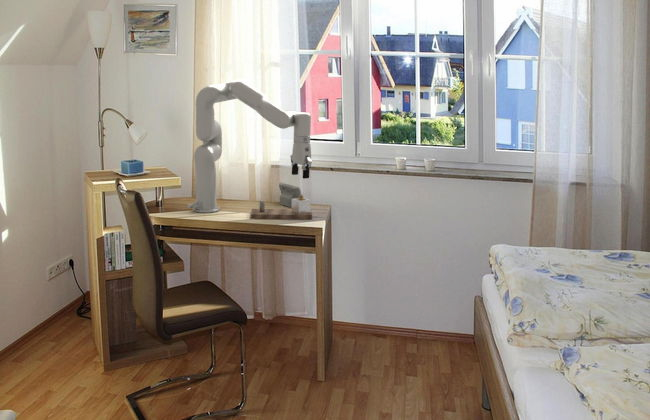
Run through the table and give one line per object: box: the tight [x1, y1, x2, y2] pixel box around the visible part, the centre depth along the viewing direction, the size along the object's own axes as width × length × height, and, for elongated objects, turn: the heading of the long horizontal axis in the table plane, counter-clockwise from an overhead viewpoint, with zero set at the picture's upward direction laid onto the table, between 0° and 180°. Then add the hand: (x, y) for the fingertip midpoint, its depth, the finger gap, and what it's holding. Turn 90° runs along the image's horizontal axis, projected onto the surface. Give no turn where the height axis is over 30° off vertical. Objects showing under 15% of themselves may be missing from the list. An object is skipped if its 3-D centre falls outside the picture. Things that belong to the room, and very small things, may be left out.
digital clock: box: [278, 181, 303, 208], centre depth 373 cm, size 16×9×11 cm, turn 28°
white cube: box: [291, 197, 312, 214], centre depth 348 cm, size 6×6×6 cm
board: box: [250, 194, 313, 220], centre depth 348 cm, size 28×12×10 cm, turn 93°
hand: (300, 176), depth 346 cm, fingers open, 9 cm apart
